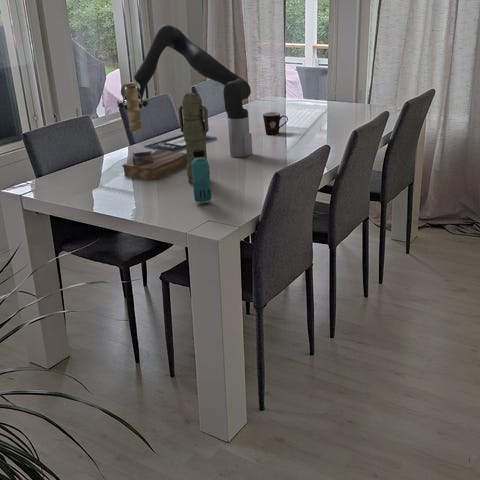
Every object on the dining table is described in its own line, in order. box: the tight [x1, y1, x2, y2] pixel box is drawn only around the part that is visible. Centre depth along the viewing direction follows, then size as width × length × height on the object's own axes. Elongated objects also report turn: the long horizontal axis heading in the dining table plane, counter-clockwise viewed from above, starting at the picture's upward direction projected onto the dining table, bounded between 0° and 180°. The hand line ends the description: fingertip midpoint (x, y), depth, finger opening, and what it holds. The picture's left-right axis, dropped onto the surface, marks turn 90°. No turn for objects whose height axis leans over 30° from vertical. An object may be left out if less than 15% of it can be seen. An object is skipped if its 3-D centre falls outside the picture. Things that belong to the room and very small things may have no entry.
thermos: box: [178, 92, 211, 185], centre depth 267 cm, size 9×12×35 cm
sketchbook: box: [143, 133, 218, 152], centre depth 334 cm, size 22×30×2 cm
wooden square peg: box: [125, 81, 143, 133], centre depth 289 cm, size 5×5×20 cm
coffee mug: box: [262, 111, 289, 136], centre depth 338 cm, size 12×9×10 cm
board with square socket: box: [121, 150, 188, 181], centre depth 291 cm, size 17×25×8 cm
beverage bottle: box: [191, 149, 212, 203], centre depth 244 cm, size 6×7×20 cm
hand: (133, 106), depth 287 cm, fingers closed on wooden square peg, 5 cm apart
